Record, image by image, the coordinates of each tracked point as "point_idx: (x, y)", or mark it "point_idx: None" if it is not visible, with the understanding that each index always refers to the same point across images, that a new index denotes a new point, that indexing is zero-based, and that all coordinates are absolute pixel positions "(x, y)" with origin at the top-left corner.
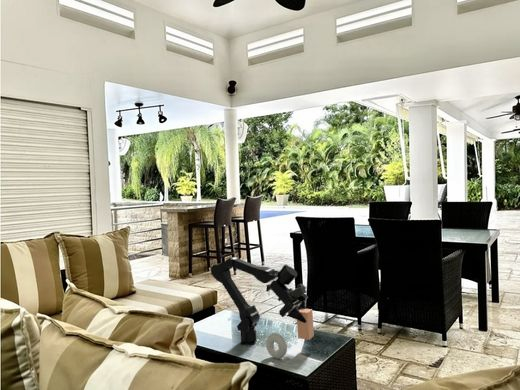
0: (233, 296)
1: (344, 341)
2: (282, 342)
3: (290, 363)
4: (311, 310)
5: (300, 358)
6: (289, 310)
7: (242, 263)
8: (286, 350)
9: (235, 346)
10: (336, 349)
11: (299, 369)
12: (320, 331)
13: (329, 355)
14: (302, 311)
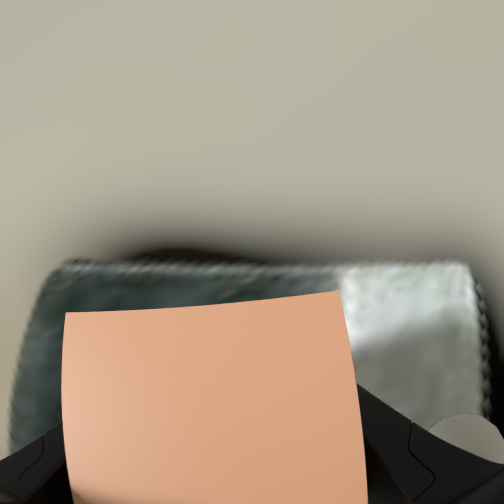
0: None
1: (82, 277)
2: (491, 424)
3: (435, 383)
4: (109, 315)
5: (369, 380)
6: None
7: None
8: (447, 417)
9: None
10: (180, 272)
11: (454, 312)
12: (11, 415)
13: (265, 271)
14: (295, 469)
